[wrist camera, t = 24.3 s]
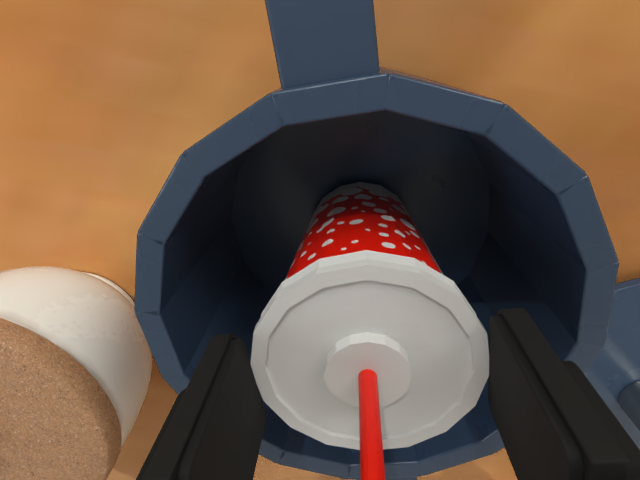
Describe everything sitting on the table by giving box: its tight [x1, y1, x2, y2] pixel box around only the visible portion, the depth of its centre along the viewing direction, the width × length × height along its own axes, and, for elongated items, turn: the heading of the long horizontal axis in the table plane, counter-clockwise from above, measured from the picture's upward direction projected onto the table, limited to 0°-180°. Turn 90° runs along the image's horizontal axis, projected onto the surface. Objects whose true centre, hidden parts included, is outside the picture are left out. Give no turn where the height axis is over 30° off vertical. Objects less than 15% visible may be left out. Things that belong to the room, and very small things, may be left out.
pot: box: [134, 0, 619, 480], centre depth 15 cm, size 14×19×8 cm
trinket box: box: [0, 266, 152, 480], centre depth 19 cm, size 11×11×9 cm
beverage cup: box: [250, 182, 489, 480], centre depth 12 cm, size 6×6×14 cm
